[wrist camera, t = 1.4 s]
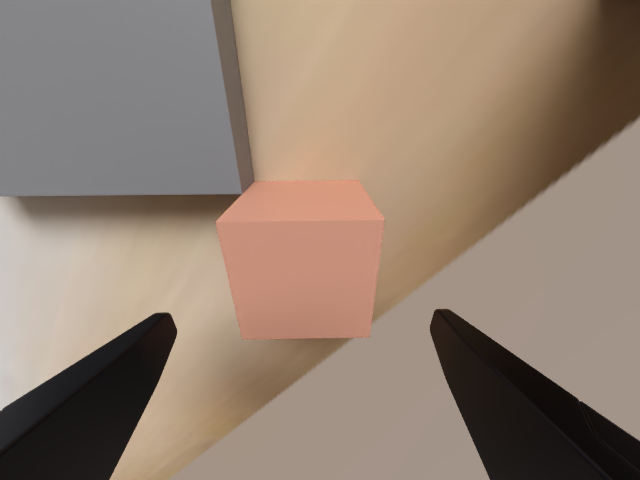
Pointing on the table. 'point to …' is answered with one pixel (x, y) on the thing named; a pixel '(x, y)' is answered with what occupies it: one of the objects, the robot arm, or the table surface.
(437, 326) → the robot arm
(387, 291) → the table surface
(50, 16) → the plinth
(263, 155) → the table surface
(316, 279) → the salmon pink cube
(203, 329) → the table surface
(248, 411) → the table surface
